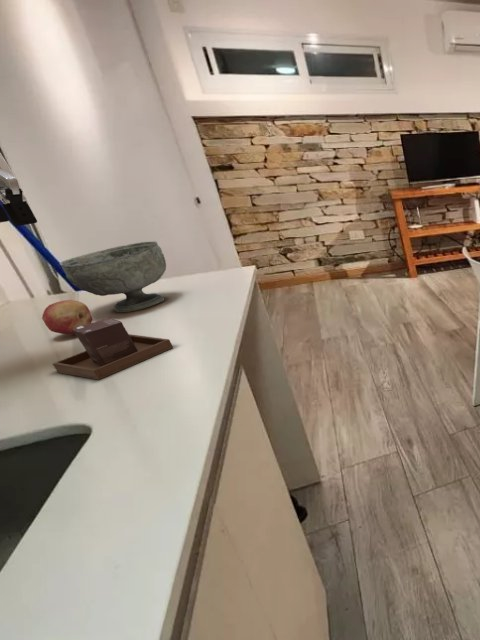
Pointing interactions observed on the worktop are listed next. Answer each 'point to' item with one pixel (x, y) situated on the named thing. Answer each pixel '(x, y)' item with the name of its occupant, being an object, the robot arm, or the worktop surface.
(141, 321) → the worktop surface
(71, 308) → the fruit
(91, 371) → the desk tray
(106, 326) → the box
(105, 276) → the bowl
